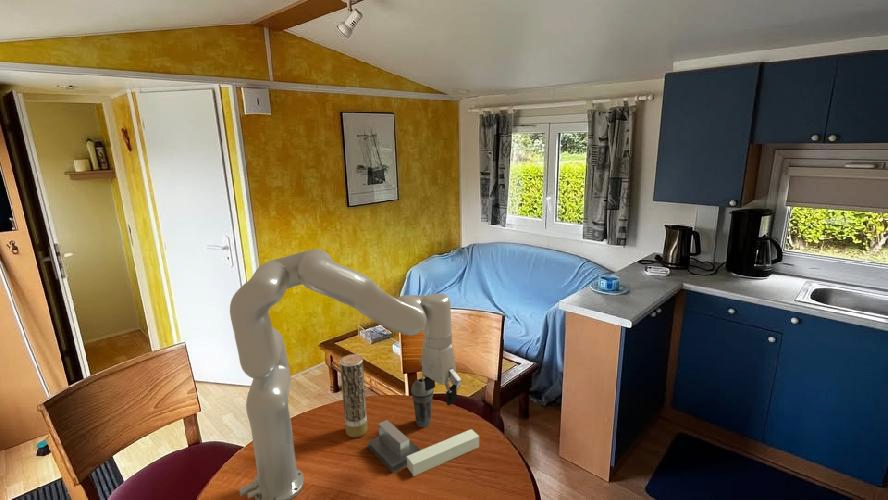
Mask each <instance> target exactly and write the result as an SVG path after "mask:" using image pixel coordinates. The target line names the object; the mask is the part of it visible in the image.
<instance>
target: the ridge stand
mask: <svg viewBox="0 0 888 500" xmlns="http://www.w3.org/2000/svg"><path fill="white" fill-rule="evenodd" d="M378 434H379V435H378V436H377V437H374V438H373V439H370V440H368V441H367V448H368V449H369V451H371V453H372V454H373V455H374V456H376V457H377V459H378V460H379V461H380V462H381V463H382V464H383V465H384V466H385V467H386V468H387V469H388V470H389V471H390V472H391V473H392V474H394V473H395V472H398V471H399V470H401V469H404V468H405V467H407V456H408V455H411V454H413V453H416V452H418V451H420V450H421V449H420V448H419V447H418V446H417V445H416V444H415V443H413V442H412V441H411V440H410V438H409V437H407V436H406V435H405V434H404V433H403V432H402V431H400V430H399V429H398V428H397V427H396V426H395V425H394V424H392V423H391V422H390V421H389V420H388V419H386V420H384V421H381V422H380V423H378Z"/></svg>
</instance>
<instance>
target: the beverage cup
mask: <svg viewBox="0 0 888 500" xmlns="http://www.w3.org/2000/svg"><path fill="white" fill-rule="evenodd" d="M410 395H411V398H412V400H413V401H412V402H413V408H414V416H415V421H416V425H417V426H418V427H419V428H427V427H429V426H430V425H431V421H432V407H433V398H434V397H433V396H434V388H433V389H430V390H428V391H426V390H425V377H424V376H423V372H422V371H421V378H418V379H415V381H414V382H413V383H412V386H411V390H410Z"/></svg>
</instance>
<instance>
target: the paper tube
mask: <svg viewBox="0 0 888 500" xmlns="http://www.w3.org/2000/svg"><path fill="white" fill-rule="evenodd" d="M363 359H364V358H363V357H362V356H361V355H360V354H356V353H355V354H352V353H351V354H348V355H345V356H344V355H343V356H342V357H341V358H340V359H339V367H340V378H341V379H340V380H341V390H342V391H341V392H342V393H341V394H342V404H343V415H344V424H345V425H344V426H345V433H346V436H348V437H349V438H359V437H362V436H364V435H365V434H366V433H367V432H368V418H367V416H368V415H367V401H366V400H367V399H366V390H365V387H366V385H365V375H364V360H363Z"/></svg>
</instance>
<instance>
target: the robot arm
mask: <svg viewBox="0 0 888 500" xmlns="http://www.w3.org/2000/svg"><path fill="white" fill-rule="evenodd" d="M301 285H302V286H304V287H305V288H306V289H309V290H311V291H313V292H316V293H317V294H320V295H322V296H325V297H328V298H330V299H332V300H335V301H338V302H340V303H342V304H345V305H347V306H350V307H351V308H353V309H354V310H356V311H357V312H359V313H360V314H362V315H364V316H365V317H367V318H368V319H370V320H372V321H373V322H375V323H377V324H379V325H380V326H383V327H384V328H386V329H390V330H391V331H394V332H397V333H399V334H402V335H403V336H404V335H405V336H416V335H418V334H420V333H422V332H423V343H422V350H421V358H419V362H420V366H421V367H420V369H421V373H422V372H423V378H424V379H425V390H426V391H428V390H430V389H433V390H434V388H436V383H437V384H439V385H442V386H445V388H446V392H445V396H446V397H445V398H446V399H445V400H446V401H445V402H446V405H447V406H451V405H453V404H455V403H457V402H458V401H457V400H458V396H457V395H458V394H457V393H458V392H457V390H458V389H459V388H460V387H461V384H462V379H461V377H460V376H459V375H458V373H457V371H456V369H457V368H456V357H455V351H454V348H453V338H452V337H453V336H452V334H453V333H452V313H451V311H452V310H451V309H452V308H451V307H452V306H451V299H450V297H449V296H448V295H447V294H444V293H439V292H438V293H437V292H436V293H430V294H427V295H418V294H415V295H414V294H404V295H401V296H399V297H397V298H396V297H394V296H392V295H390V294H389V293H387V292H385V290H383V289H382V288H381V287H380V286H379V285H377V284H376V282H375V281H374V280H373V279H371V278H370V277H369V276H367V275H365V274H363V273H360V272H359V271H356V270H355V269H352V268H350V267H347V266H344V265H343V264H340V263H338V262H336V261H334V260H333V259H332V257H331V255H330V254H329V253H328V252H326V250H322V249H319V248H315V249H314V248H312V249H307V250H304V251H299V252H297V253H296V252H295V253H293V254H289V255H287V256H283V257H280V258H279V257H278V258H276V259H275V258H274V259H272V260H269V261H266V262H264V263H263V264H261V265H260V266H258V267H257V269H256V270H255V271H254V273H253V274H252V276H251V278H250V279H249V280H247V281H246V282H245V283H244V284H242V286H241V287H240V288H238V289H237V290H236V291H235V293H234V295H233V297H232V298H231V301H230V306H229V316H230V321H231V325H232V329H233V334H234V340H235V345H236V349H237V353H238V358H239V364H240V366H241V369H242V371H243V373H245V375H246V376H248V377H250V378H251V379H252V381H251V384H250V385H249V390H248V391H247V392H248V393H247V397H246V401H245V402H246V403H245V408H246V409H245V410H246V415H247V419H248V422H249V425H250V431H251V432H250V433H251V438H252V444H253V451H254V452H253V453H254V458H255V459H254V460H255V465H256V472H257V474H256V475H254V480H252V481H251V483H248V484H247V485H243V486H242V487H240V488H238V492H239V495H240V497H243V496H244V495H246V496H247V499H248V500H249V499H251V498H253V497H254V499H255V500H291V499H293V498H295V496H297V495H298V494H299V493H300V492H301V491H302V489H303V487H304V484H305V478H304V474H303V472H302V471H301V470H300V469H297V461H296V453H295V452H296V451H295V445H294V444H295V443H294V435H293V427H292V420H291V414H290V410H289V393H290V388H291V387H290V386H291V378H292V376H291V370H290V366H289V360H288V354H287V350H286V345H285V339H284V338H283V336H282V334H281V333H280V331H279V330H278V329H276V328H275V327H272V325H273V324H272V320H271V317H270V313H269V312H270V309H271V308H272V307H274V306H275V305H276V304H277V303H279V302H280V301H281V300H282V299H283V298H284V296H285V294H286V291H287V290H288V289H291V288H294V287H297V286H301ZM449 383H451V386H450V384H449Z"/></svg>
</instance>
